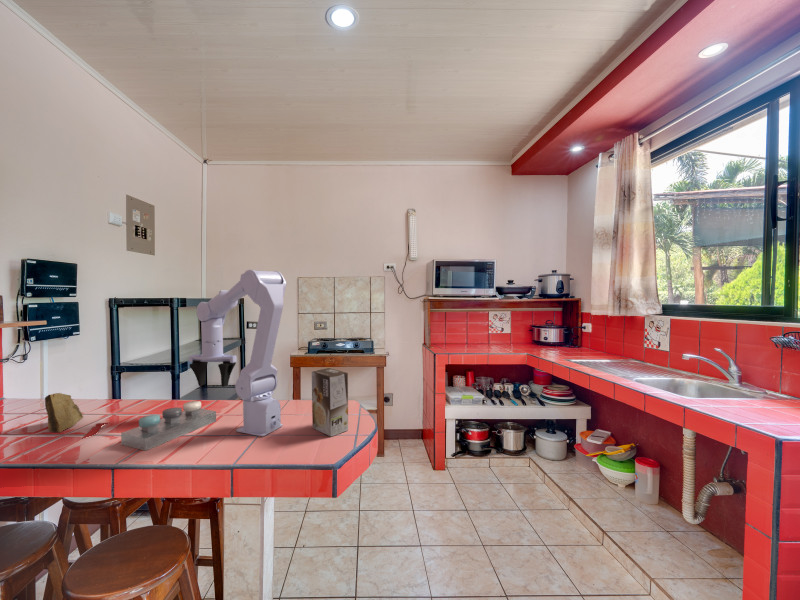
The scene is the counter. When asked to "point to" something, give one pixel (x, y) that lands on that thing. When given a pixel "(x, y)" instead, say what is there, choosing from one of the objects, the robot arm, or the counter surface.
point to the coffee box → (330, 401)
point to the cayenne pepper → (94, 430)
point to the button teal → (149, 423)
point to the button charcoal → (172, 415)
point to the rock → (61, 412)
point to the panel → (167, 430)
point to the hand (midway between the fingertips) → (213, 385)
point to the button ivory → (192, 408)
